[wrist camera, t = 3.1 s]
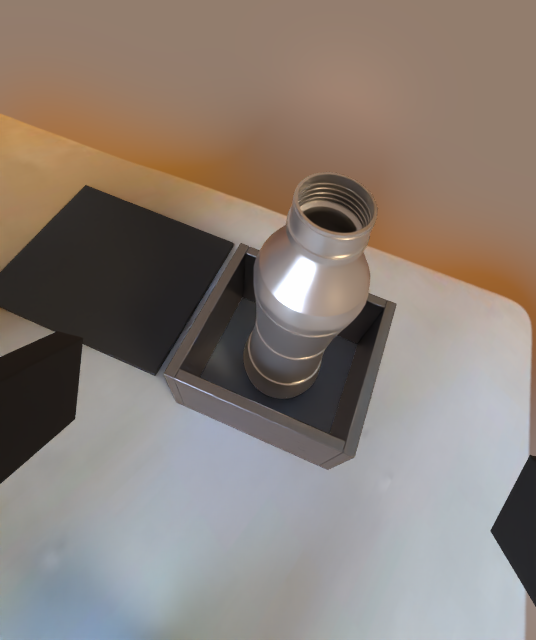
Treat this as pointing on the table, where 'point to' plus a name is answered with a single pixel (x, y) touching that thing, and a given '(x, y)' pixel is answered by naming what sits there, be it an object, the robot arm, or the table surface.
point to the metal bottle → (309, 282)
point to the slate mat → (114, 277)
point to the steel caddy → (257, 418)
